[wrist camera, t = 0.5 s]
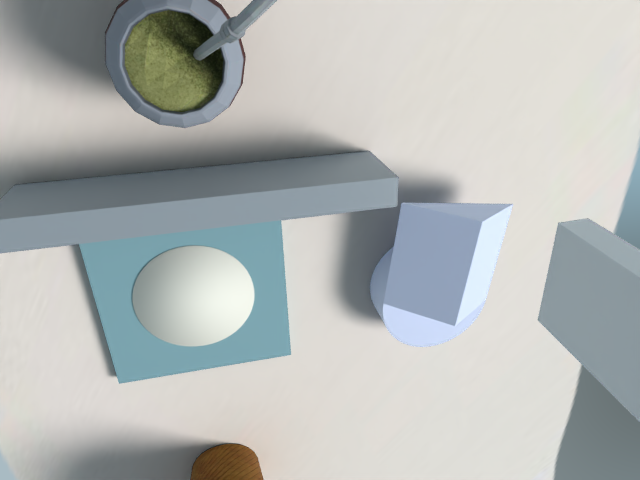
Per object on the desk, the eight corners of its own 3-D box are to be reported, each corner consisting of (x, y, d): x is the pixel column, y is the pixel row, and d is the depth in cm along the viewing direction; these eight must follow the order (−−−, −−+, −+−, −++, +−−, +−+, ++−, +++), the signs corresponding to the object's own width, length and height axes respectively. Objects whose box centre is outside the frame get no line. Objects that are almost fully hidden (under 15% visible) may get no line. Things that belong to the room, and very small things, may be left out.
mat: (76, 221, 33) (73, 226, 32) (278, 199, 36) (280, 203, 35) (120, 376, 40) (118, 384, 39) (289, 348, 42) (291, 355, 41)
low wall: (15, 184, 31) (-23, 222, 26) (369, 150, 36) (398, 177, 30) (24, 213, 32) (-10, 254, 27) (369, 176, 37) (397, 206, 31)
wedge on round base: (385, 186, 37) (363, 325, 43) (420, 221, 31) (389, 377, 37) (489, 188, 39) (455, 321, 45) (540, 222, 34) (493, 369, 39)
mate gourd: (119, 97, 31) (57, 172, 17) (122, -44, 27) (49, -84, 14) (238, 115, 33) (263, 193, 19) (253, -15, 29) (296, -27, 16)
